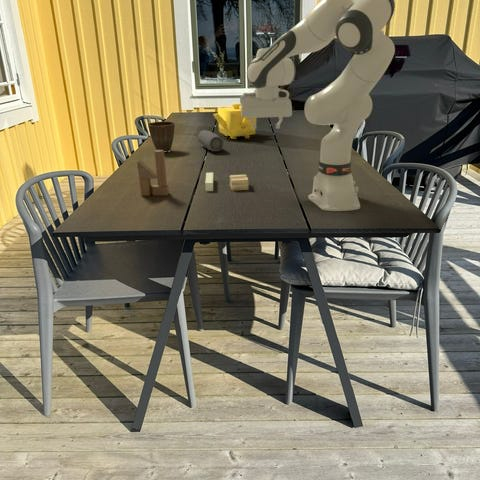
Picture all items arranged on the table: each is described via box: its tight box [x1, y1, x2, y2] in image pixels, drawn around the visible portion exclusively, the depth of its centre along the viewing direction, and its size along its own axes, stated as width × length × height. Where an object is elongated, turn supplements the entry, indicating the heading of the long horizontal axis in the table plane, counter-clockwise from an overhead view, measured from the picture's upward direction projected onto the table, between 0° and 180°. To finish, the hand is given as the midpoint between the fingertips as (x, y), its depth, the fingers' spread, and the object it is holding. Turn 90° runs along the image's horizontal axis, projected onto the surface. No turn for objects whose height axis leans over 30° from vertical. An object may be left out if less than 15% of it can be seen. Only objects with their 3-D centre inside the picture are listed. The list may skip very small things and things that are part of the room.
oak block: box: [229, 174, 250, 191], centre depth 181 cm, size 8×7×4 cm
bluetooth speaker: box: [197, 129, 224, 152], centre depth 248 cm, size 23×9×10 cm, turn 22°
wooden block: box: [137, 149, 170, 197], centre depth 171 cm, size 4×11×18 cm, turn 87°
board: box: [204, 172, 214, 192], centre depth 184 cm, size 16×3×4 cm, turn 2°
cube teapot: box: [212, 103, 258, 140], centre depth 278 cm, size 35×30×21 cm
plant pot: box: [147, 121, 176, 151], centre depth 245 cm, size 15×15×16 cm
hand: (266, 128), depth 173 cm, fingers open, 8 cm apart
